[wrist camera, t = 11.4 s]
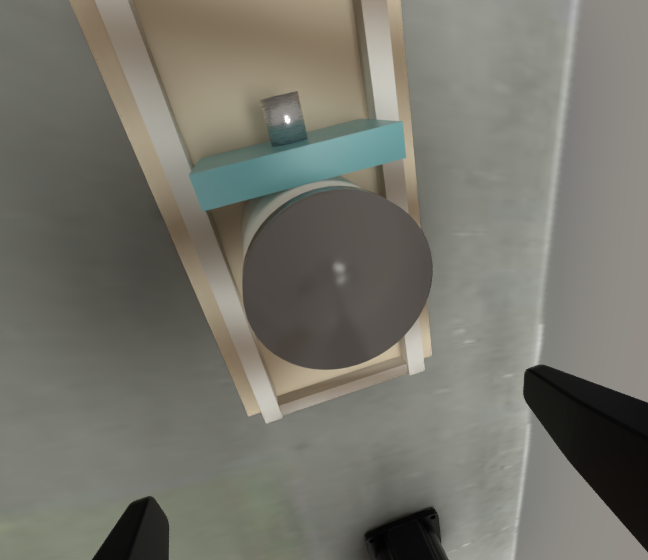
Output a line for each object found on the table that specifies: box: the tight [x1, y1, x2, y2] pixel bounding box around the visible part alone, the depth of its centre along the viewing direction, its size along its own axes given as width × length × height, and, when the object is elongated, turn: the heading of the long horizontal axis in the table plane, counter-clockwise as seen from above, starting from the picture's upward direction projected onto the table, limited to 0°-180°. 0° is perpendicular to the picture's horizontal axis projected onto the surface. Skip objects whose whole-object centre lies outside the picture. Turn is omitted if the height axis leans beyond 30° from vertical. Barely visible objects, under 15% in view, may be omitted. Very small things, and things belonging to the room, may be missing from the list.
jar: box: [241, 175, 432, 370], centre depth 15 cm, size 6×6×7 cm
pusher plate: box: [189, 91, 406, 212], centre depth 14 cm, size 3×7×4 cm, turn 102°
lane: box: [69, 0, 432, 424], centre depth 15 cm, size 22×12×6 cm, turn 12°
